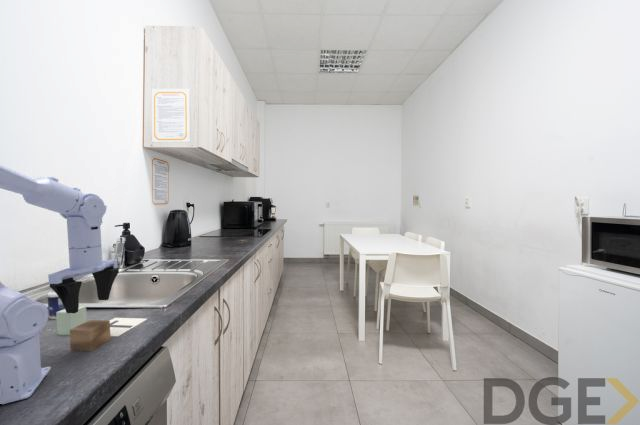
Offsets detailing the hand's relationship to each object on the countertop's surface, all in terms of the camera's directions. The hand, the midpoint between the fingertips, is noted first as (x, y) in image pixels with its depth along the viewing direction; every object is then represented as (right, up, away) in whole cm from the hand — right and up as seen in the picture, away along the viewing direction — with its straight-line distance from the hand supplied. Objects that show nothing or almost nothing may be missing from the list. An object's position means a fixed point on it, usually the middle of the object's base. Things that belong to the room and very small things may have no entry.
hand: (88, 305), depth 63 cm
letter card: (-1, -9, +10) cm, 13 cm away
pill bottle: (-23, -9, +18) cm, 31 cm away
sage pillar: (-10, -9, +7) cm, 16 cm away
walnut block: (0, -10, 0) cm, 10 cm away
